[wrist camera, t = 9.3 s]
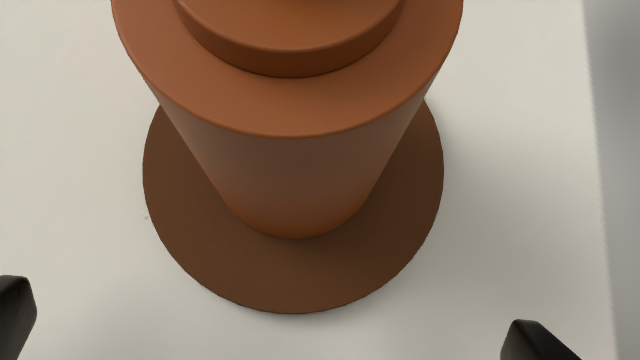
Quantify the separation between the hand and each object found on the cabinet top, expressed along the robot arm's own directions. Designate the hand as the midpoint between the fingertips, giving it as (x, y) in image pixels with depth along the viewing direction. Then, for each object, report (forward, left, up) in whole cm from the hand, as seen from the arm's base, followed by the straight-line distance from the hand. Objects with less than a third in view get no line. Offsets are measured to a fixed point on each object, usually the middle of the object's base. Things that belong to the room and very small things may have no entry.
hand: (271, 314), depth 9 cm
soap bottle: (+5, -3, -7) cm, 9 cm away
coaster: (+5, -3, -8) cm, 10 cm away
